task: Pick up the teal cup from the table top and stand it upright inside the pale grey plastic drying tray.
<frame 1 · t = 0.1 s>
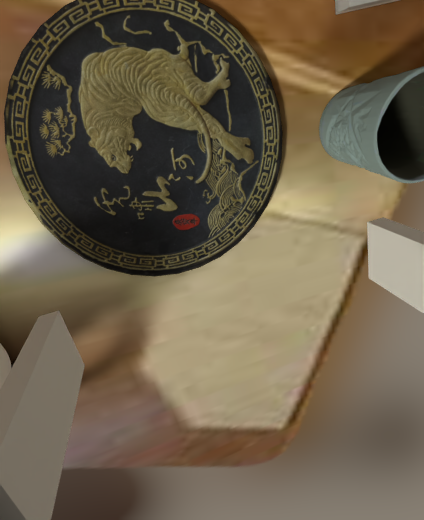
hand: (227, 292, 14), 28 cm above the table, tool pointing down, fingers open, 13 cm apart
decorative plate: (154, 150, 38), on the table
teal cup: (349, 127, 42), on the table
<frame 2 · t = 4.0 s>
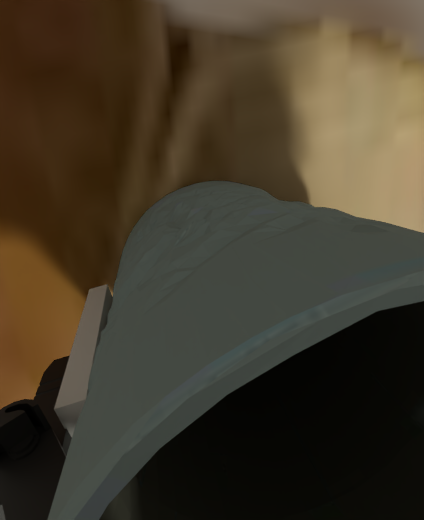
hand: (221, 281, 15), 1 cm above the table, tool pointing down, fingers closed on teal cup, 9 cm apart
teal cup: (217, 269, 16), on the table, touching gripper
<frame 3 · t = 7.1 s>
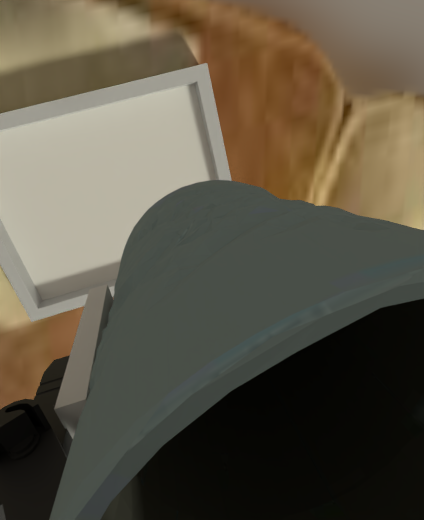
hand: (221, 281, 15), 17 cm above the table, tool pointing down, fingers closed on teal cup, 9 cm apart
teal cup: (218, 268, 16), point 16 cm above the table, touching gripper
drying tray: (113, 197, 29), on the table
when the fingers open (3 cm above the table, at t = 10.2 s): teal cup drops 1 cm, resting on drying tray.
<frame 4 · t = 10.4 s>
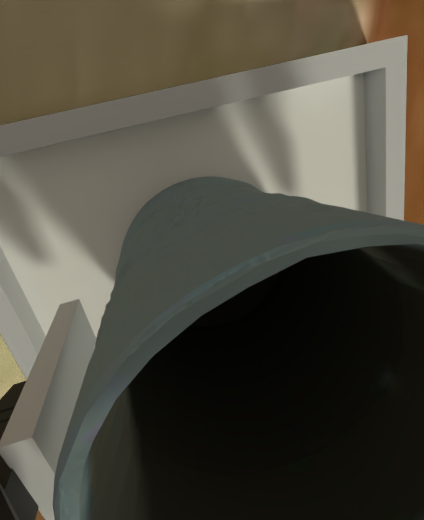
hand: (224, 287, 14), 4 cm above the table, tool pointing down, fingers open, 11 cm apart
teal cup: (211, 258, 17), point 1 cm above the table, touching drying tray
drying tray: (206, 253, 18), on the table
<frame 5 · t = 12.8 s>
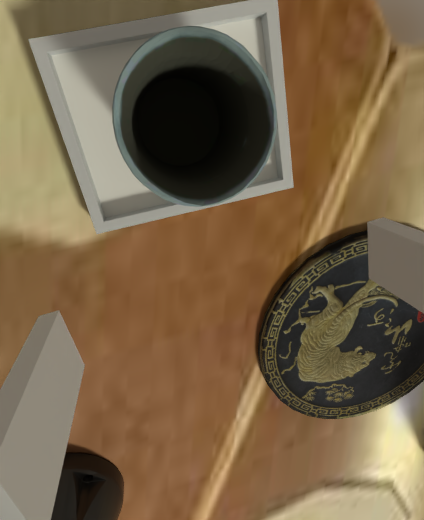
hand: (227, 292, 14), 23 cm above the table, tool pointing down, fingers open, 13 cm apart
decorative plate: (358, 329, 47), on the table
teal cup: (179, 123, 31), point 1 cm above the table, touching drying tray
drying tray: (177, 123, 32), on the table
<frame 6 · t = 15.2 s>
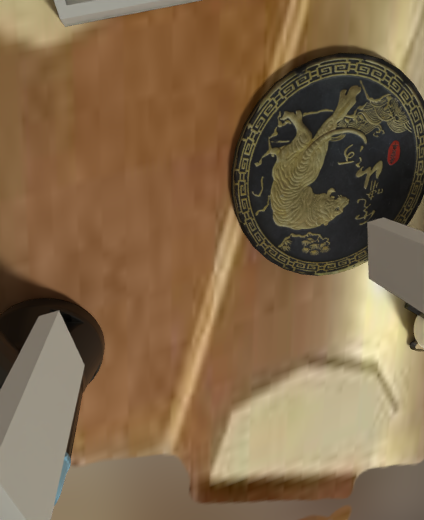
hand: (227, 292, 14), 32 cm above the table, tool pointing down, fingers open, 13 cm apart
decorative plate: (331, 175, 48), on the table
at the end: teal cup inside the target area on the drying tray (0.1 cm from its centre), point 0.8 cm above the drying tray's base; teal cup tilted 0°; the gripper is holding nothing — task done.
